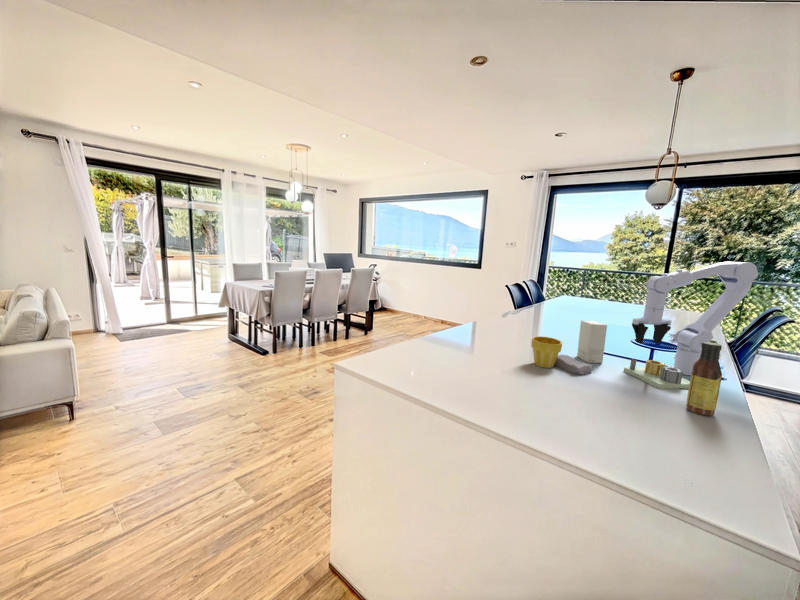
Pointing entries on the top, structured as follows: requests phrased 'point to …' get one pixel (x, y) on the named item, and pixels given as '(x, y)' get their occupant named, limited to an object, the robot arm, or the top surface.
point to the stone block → (572, 365)
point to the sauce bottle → (705, 381)
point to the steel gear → (671, 375)
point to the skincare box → (592, 341)
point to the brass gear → (654, 367)
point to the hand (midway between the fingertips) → (647, 342)
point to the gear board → (654, 377)
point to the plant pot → (545, 351)
